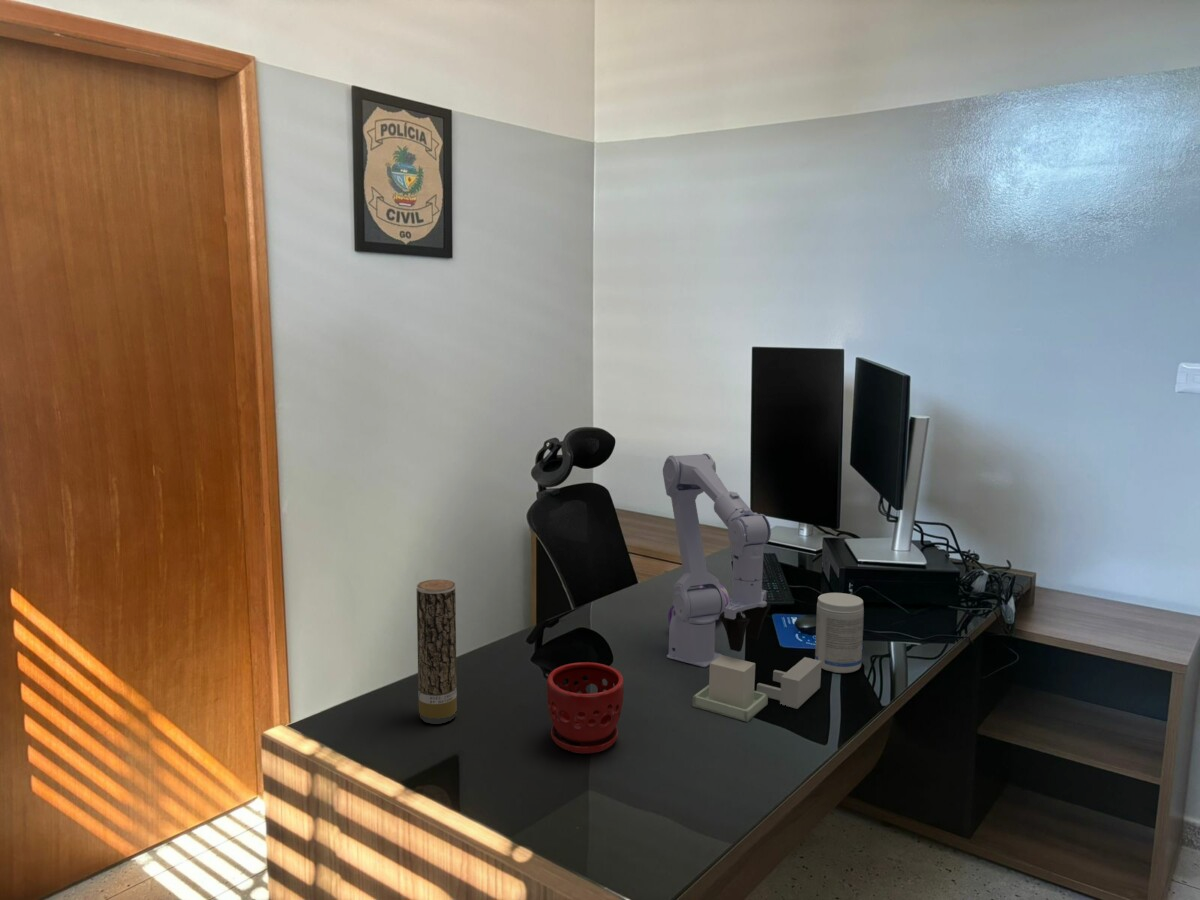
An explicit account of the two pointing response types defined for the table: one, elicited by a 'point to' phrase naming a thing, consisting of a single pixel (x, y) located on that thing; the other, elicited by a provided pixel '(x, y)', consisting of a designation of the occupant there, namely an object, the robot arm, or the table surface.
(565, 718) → the plant pot
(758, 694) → the tray
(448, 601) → the paper tube
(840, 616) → the supplement tub
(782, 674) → the dock
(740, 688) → the taupe rectangular block
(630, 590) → the table surface
